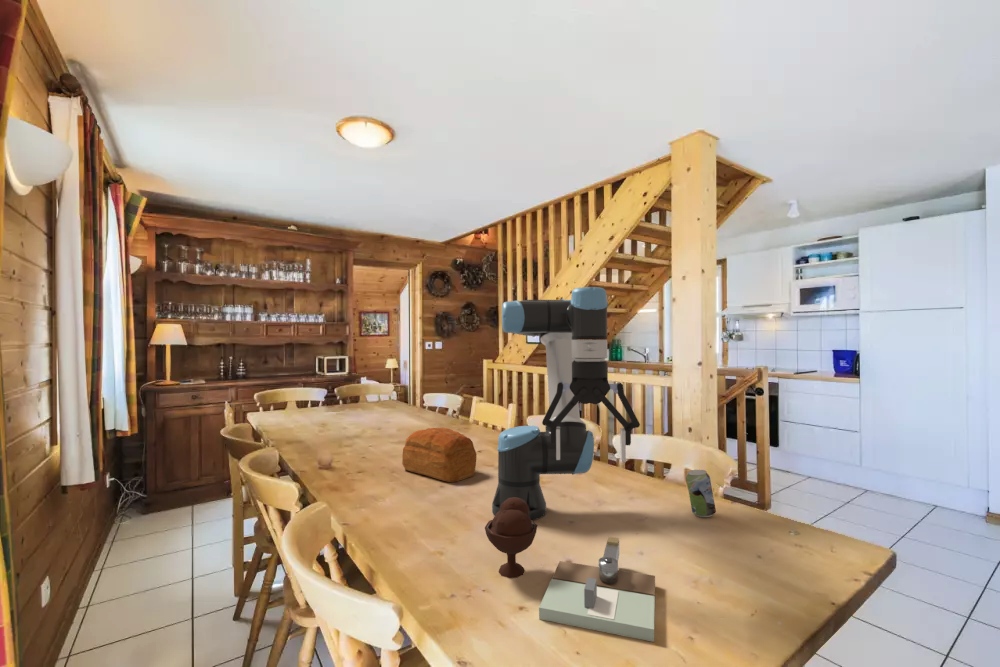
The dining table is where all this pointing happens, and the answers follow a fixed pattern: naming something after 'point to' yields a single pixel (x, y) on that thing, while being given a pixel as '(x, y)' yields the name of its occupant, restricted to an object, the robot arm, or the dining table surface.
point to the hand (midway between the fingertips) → (590, 459)
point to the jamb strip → (624, 583)
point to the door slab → (599, 608)
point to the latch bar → (609, 561)
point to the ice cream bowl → (511, 534)
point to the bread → (440, 454)
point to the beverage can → (700, 493)
